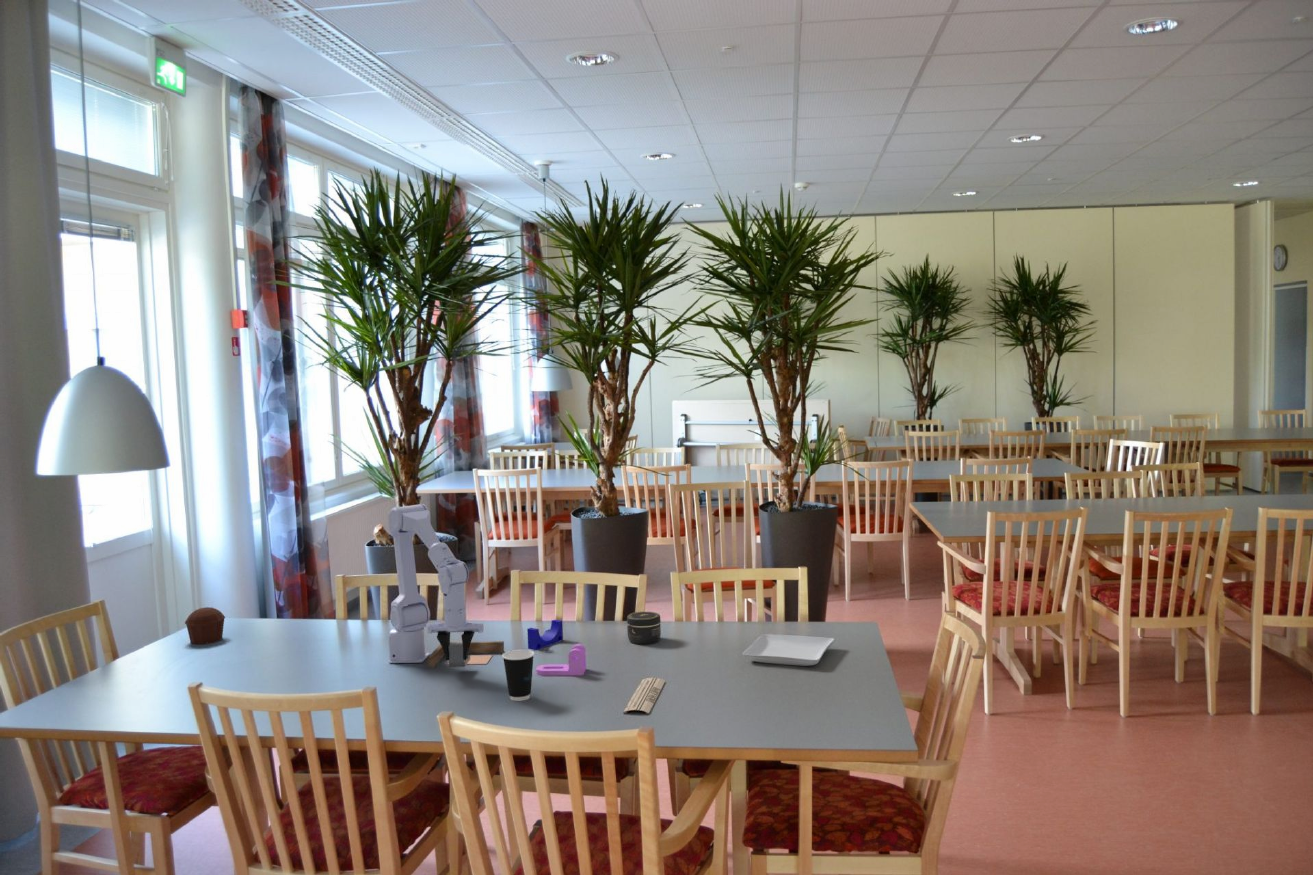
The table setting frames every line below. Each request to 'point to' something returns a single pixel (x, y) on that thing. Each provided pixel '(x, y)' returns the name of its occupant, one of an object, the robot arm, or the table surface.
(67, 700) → the table surface
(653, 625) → the jar
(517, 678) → the dixie cup
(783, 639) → the salad plate
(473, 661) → the mat
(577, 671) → the bracket
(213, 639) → the muffin
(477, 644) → the corner walls
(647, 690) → the newspaper
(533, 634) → the blue cradle block
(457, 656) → the angle bracket
